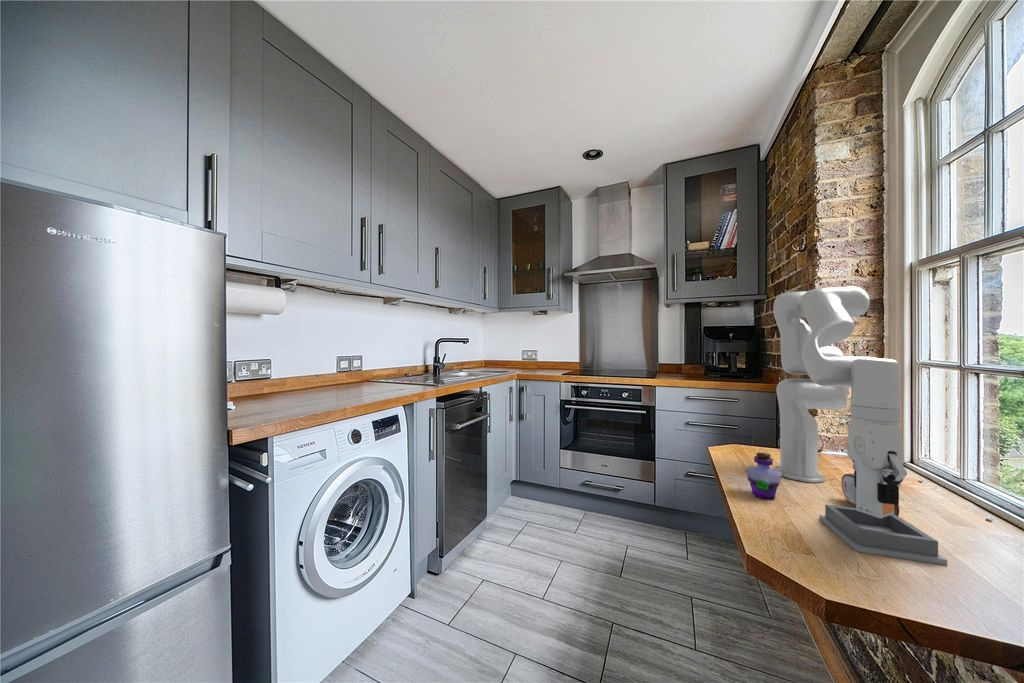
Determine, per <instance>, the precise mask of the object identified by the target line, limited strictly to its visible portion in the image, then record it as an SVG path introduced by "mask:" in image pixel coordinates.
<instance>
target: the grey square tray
mask: <svg viewBox="0 0 1024 683" xmlns="http://www.w3.org/2000/svg"><path fill="white" fill-rule="evenodd" d="M824 508H825V509H824V512H825V515H824V514H823V515H822V514H819V515H818V516H819V520H820V521H821V522H822V523H825V524H824V525H825V526H827V527H828V528H829V527H830V528H831V529H832V530H833V533H834V534H836V535H837V536H838V537H839V538H840V539H842V540H843V541H844V542H845V543H846V544H847V545H848V546H849V547H851V548H852V549H853V550H854V551H855V552H858V553H863V554H864V553H865V554H872V555H878V556H883V557H890V558H896V557H897V558H898V559H903V558H904V560H909V561H916V562H924V563H930V564H937V565H941V566H942V565H943V566H948V559H946V558H945V557H943V556H942V555H940V554H939V541H938V540H937V539H935V538H934V537H932V536H930V535H928V534H927V533H925V532H924V531H922V530H921V529H919V528H918V527H916V526H914V525H912V524H911V523H910V522H908V521H906V520H904V519H902V518H901V517H899V516H896V515H895V514H892V515H889V516H886V517H883V518H877V517H874V516H871V515H868V514H866V513H862V512H859V511H857V510H856V507H848V506H839V505H832V504H825V505H824ZM830 528H829V529H830ZM831 529H830V530H831ZM832 530H831V531H832Z"/></svg>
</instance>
